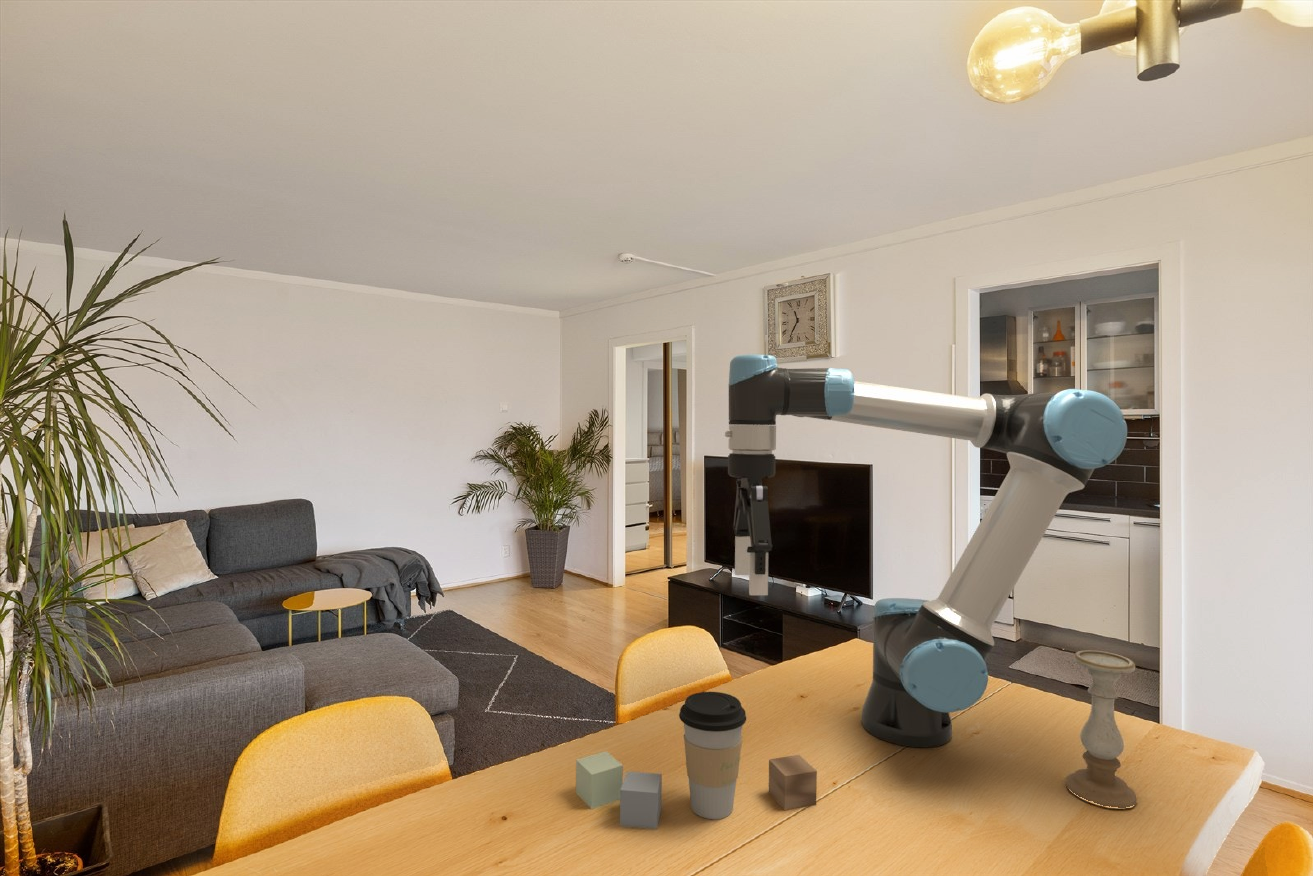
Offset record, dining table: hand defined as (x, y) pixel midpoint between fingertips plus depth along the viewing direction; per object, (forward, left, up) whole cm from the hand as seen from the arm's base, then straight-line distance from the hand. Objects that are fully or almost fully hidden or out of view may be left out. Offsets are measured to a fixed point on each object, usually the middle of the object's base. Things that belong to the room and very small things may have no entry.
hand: (750, 584), depth 110 cm
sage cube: (+24, +10, -29) cm, 38 cm away
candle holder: (-50, +12, -29) cm, 59 cm away
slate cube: (+18, +16, -28) cm, 37 cm away
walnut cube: (-4, +12, -28) cm, 31 cm away
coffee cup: (+8, +14, -29) cm, 33 cm away
